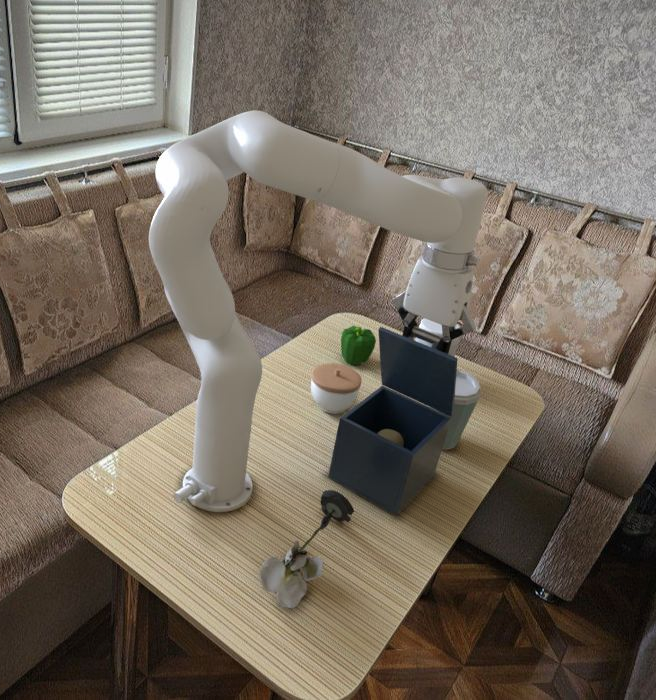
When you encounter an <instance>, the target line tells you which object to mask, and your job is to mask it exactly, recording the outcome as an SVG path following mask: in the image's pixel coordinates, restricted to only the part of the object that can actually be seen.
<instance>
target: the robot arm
mask: <svg viewBox="0 0 656 700" xmlns="http://www.w3.org/2000/svg"><path fill="white" fill-rule="evenodd" d="M243 173H245V174H246V175H247V176H248V177H250V179H252V180H254V181H255V182H257V183H259V184H262V185H265V186H267V187H269V188H273V189H276V190H279V191H283V192H286V193H288V194H291V195H292V194H293V195H295V196H298V197H301V198H304V199H307V200H311V201H314V202H316V203H320V204H323V205H325V206H329V207H331V208H334V209H336V210H338V211H340V212H343V213H345V214H347V215H350V216H352V217H354V218H357V219H361V220H363V221H366V222H367V223H371V224H373V225H375V226H378V227H380V228H383V229H385V230H387V231H390V232H392V233H395V234H398V235H401V236H404V237H407V238H410V239H414V240H416V241H420V242H423V243H425V246H424V250H423V254H422V255H420V256H419V257H418V259H417V261H416V263H415V265H414V267H413V270H412V272H411V275H410V278H409V281H408V284H407V287H406V290H405V291H403V292H401V293H400V294H398V295H397V296H395V297H392V299H391V302H392V304H393V305H394V307H395V309H396V310H397V313H398V315H399V317H400V318H401V321H402V325H403V326H404V327H403V331H402V334H401V335H402V336H405V337H407V338H408V337H409V336H410V335H411V331H412V329H413V327H414V326H416V327H418V322H417V321H416V320H417V319H418V317H420V318H422V319H423V318H425V319H428V320H430V321H433V322H436V323H438V324H441V325H442V333H443V338H442V339H441V340H440V341H439V343H438V347H437V350H439V351H441V352H444V353H446V354H448V353H449V350H450V346H451V342H452V340H453V339H455V338H458V337H460V338H461V336H465V335H467V334H470V333H472V332H473V331H475V330H476V329H477V326H476V324H475V321H474V319H473V316H471V314H470V311H469V308H470V303H471V298H472V297H471V296H472V291H473V283H474V268H473V267H478V266H479V264H480V260H481V259H480V258H478V257H476V256H475V250H474V249H475V245H476V241H477V238H478V233H479V230H480V227H481V223H482V219H483V215H484V211H485V208H486V204H487V200H488V196H489V193H488V189H487V187H486V185H485V184H483V183H481V182H480V181H477V180H475V179H472V178H471V179H470V178H467V177H466V178H465V177H449V178H444V179H443V178H436V177H429V176H424V175H418V174H406V175H405V174H404V175H400V174H398V173H396V172H394V171H392V170H390V169H388V168H386V167H385V166H383V165H381V164H379V163H378V162H376V161H375V160H374V159H372V158H370V157H368V156H367V155H365V154H363V153H361V152H359V151H357V150H355V149H353V148H350V147H348V146H345V145H342V144H339V143H337V142H334V141H331V140H328V139H326V138H322V137H320V136H317V135H314V134H313V133H312V134H311V133H309V132H308V131H304V130H302V129H299V128H296V127H294V126H291V125H289V124H286V123H284V122H283V121H280V120H279V119H277V118H276V117H274V116H272V115H271V114H269V113H268V112H266V111H262V110H255V109H254V110H253V109H252V110H249V111H244V112H241V113H239V114H235V115H234V116H231V117H229V118H226V119H225V120H222V121H220V122H218V123H216V124H213V125H211V126H209V127H207V128H205V129H203V130H200V131H199V132H197V133H194V134H192V135H189V136H187V137H185V138H183V139H181V140H179V141H177V142H175V143H173V144H171V145H169V147H168V148H166V149H165V150H164V151H163V152H162V153H161V155H160V156H159V159H158V160H157V162H156V166H155V181H156V184H157V185H158V186H157V187H158V189H159V190H160V192H161V194H162V195H163V199H162V201H161V202H160V204H159V205H158V207H157V209H156V211H155V212H154V214H153V217H152V220H151V223H150V225H149V226H150V227H149V231H148V247H149V251H150V255H151V258H152V260H153V263H154V265H155V268H156V270H157V272H158V274H159V277H160V279H161V282H162V283H163V288H164V295H165V296H166V299H167V301H168V303H169V306H170V308H171V310H172V313H173V314H174V316H175V318H176V320H177V322H178V324H179V326H180V328H181V331H182V332H183V335H184V337H185V338H186V341H187V343H188V345H189V347H190V349H191V351H192V354H193V356H194V358H195V361H196V364H197V366H198V368H199V372H200V377H201V382H200V388H199V391H198V394H197V399H196V407H195V423H194V424H195V425H194V437H193V438H194V439H193V453H192V454H193V455H192V456H193V457H192V467H191V468H190V469H189V470H187V472H186V473H185V475H184V476H183V479H182V487H181V488H180V489H178V490H176V492H174V493H173V495H172V496H173V499H174V501H175V502H176V503H178V504H181V503H182V502H183V501H185V500H187V501H189V502H190V504H191V505H192V506H194V507H197V508H199V509H201V510H203V511H208V512H211V513H227V512H232V511H235V510H238V509H240V508H241V507H243V506H244V505H247V503H248V502H249V500H250V499H251V497H252V495H253V486H254V485H253V480H252V478H251V476H250V475H249V474H248V473H247V465H248V459H249V458H248V457H249V450H250V449H249V448H250V440H251V432H252V423H253V416H254V415H253V414H254V413H253V412H254V406H255V402H256V401H255V400H256V398H257V397H256V396H257V394H258V393H257V392H258V390H259V387H260V383H261V381H262V378H263V377H262V376H263V364H262V360H261V356H260V354H259V351H258V349H257V347H256V345H255V344H254V342H253V340H252V339H251V337H250V336H249V333H247V331H246V330H245V328H244V327H243V325H242V323H241V321H240V320H239V316H238V315H237V313H236V302H235V298H234V295H233V292H232V290H231V288H230V286H229V284H228V282H227V281H226V279H225V278H224V275H223V272H222V270H221V268H220V266H219V263H218V261H217V258H216V254H215V252H214V249H213V246H212V243H211V237H212V233H213V230H214V228H215V226H216V225H217V223H218V221H219V220H220V219H221V217H222V215H223V214H224V212H225V210H226V208H227V205H228V202H229V198H230V197H229V192H230V191H229V185H228V182H227V181H229V180H231V179H233V178H235V177H237V176H239V175H242V174H243ZM459 321H461V322H462V324H463V326H460V328H457V329H456V325H457V324H458V322H459ZM413 340H414V341H415V338H414V339H413Z"/></svg>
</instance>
